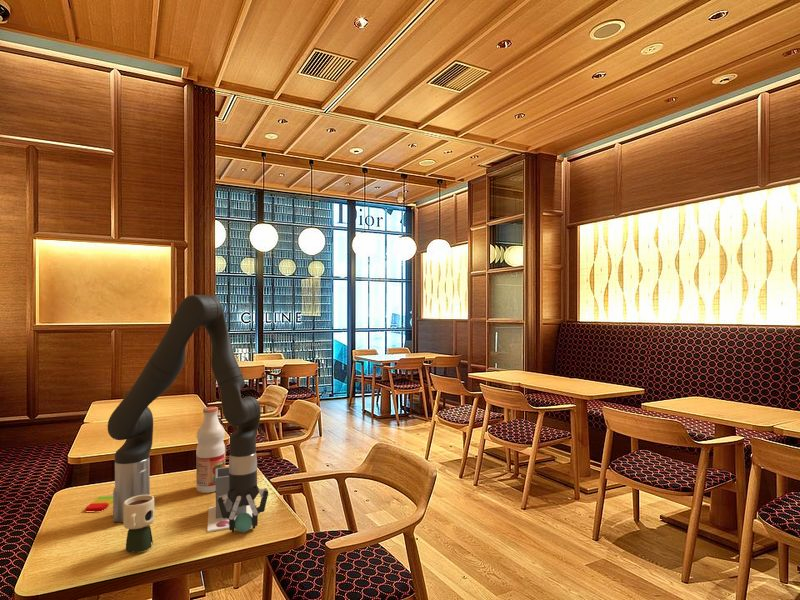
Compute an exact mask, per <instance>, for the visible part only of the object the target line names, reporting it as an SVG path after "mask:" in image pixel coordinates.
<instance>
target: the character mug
mask: <svg viewBox="0 0 800 600" xmlns="http://www.w3.org/2000/svg"><path fill="white" fill-rule="evenodd" d="M123 511H124V522H123V527H124V528H125V529H127V534H126V540H125V542H126V543H125V552H127V553H143V552H145V551H148V550H149V549H151V548H152V545H154V542H153V541H154V540H153V534H152V529H151V526H150V525H151V524H153V523H154V521H155V496H153V495H151V494H150V495H138V496H134V497H131V498H129V499H127V500H126V501H124V505H123Z"/></svg>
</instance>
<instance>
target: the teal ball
mask: <svg viewBox="0 0 800 600" xmlns="http://www.w3.org/2000/svg"><path fill="white" fill-rule="evenodd" d="M252 523H253V520H252V517H251V515H250V514H248V513H241V514H239V515H238V516H237V517H236V518H235V521H234V527H235V531H237V532H239V533H245V532H247V531H249V530H250V529H251V528H252Z"/></svg>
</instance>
